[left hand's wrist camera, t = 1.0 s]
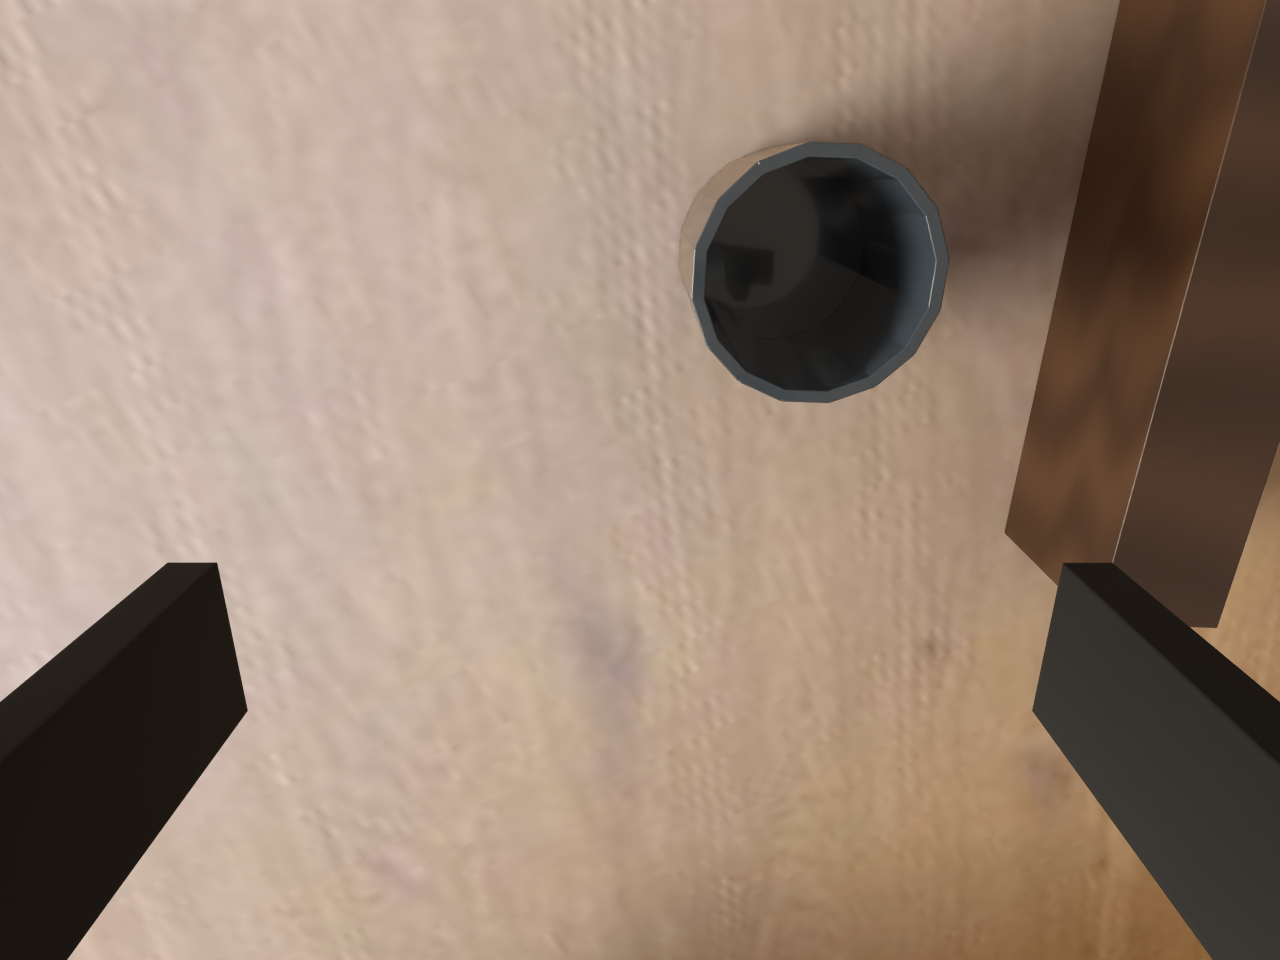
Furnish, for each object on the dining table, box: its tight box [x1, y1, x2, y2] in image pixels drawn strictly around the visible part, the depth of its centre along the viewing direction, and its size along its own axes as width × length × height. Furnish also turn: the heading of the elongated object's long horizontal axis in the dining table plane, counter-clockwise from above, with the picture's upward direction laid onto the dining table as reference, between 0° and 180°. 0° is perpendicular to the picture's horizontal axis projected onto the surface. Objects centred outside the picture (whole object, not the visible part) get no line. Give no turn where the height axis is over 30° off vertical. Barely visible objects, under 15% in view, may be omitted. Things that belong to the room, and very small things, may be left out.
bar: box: [1005, 0, 1280, 628], centre depth 29 cm, size 26×4×8 cm, turn 178°
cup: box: [679, 142, 949, 403], centre depth 29 cm, size 8×8×9 cm
